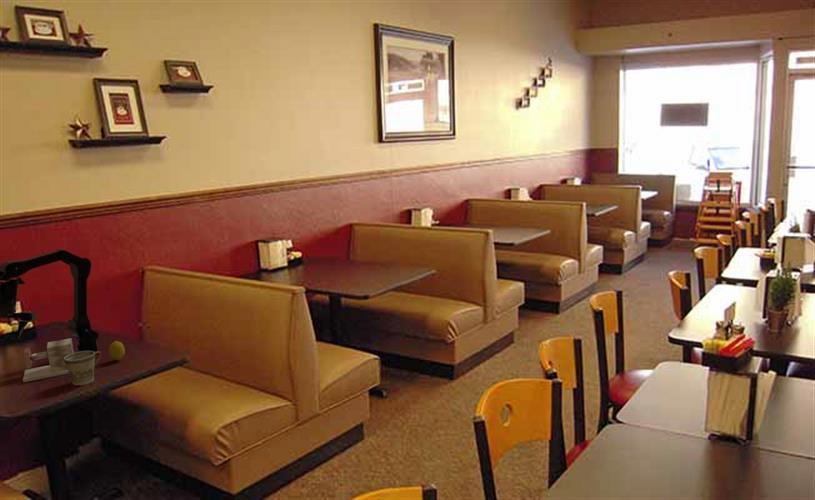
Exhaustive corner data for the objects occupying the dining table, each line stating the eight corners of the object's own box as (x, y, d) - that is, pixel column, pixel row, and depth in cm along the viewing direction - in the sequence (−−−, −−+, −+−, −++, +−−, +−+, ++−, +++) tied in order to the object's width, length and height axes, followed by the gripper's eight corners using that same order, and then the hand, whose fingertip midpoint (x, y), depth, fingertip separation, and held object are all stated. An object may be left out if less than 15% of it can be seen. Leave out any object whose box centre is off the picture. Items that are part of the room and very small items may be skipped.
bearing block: (75, 361, 252) (71, 338, 250) (75, 367, 245) (71, 343, 243) (51, 366, 249) (47, 342, 247) (51, 372, 242) (46, 348, 240)
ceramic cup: (78, 389, 226) (74, 362, 224) (62, 385, 231) (57, 358, 229) (112, 376, 236) (108, 350, 234) (96, 372, 242) (92, 346, 240)
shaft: (56, 358, 248) (53, 343, 247) (55, 362, 243) (53, 347, 242) (27, 363, 244) (25, 348, 243) (26, 368, 239) (23, 352, 238)
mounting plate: (78, 362, 254) (78, 359, 254) (78, 371, 244) (78, 368, 244) (25, 372, 247) (25, 369, 247) (23, 382, 236) (22, 379, 236)
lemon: (129, 358, 255) (126, 339, 253) (117, 363, 250) (114, 343, 248) (119, 357, 257) (116, 338, 255) (107, 362, 252) (104, 342, 251)
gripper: (-30, 295, 229) (-35, 339, 229) (29, 299, 234) (24, 343, 233) (-18, 293, 240) (-22, 335, 239) (38, 297, 244) (34, 338, 244)
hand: (3, 338), depth 239 cm, fingers open, 9 cm apart
